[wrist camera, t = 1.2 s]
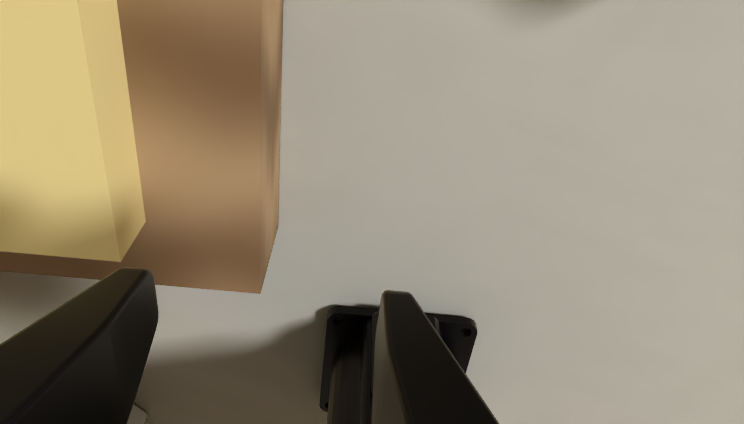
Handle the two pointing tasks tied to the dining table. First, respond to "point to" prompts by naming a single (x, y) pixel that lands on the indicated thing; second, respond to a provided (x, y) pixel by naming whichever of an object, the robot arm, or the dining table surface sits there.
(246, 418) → the dining table surface
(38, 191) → the butter block
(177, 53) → the brown flat block
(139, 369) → the robot arm
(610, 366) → the dining table surface
